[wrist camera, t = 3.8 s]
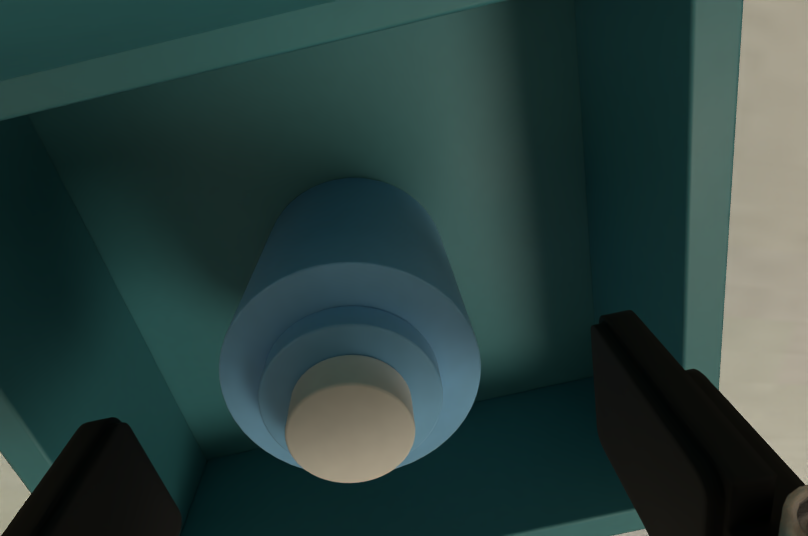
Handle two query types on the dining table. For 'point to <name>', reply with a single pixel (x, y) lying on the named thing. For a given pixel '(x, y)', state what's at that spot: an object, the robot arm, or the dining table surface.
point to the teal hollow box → (406, 170)
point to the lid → (112, 27)
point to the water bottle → (351, 336)
